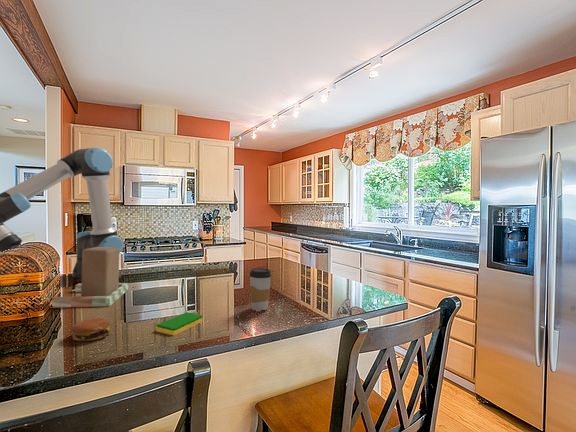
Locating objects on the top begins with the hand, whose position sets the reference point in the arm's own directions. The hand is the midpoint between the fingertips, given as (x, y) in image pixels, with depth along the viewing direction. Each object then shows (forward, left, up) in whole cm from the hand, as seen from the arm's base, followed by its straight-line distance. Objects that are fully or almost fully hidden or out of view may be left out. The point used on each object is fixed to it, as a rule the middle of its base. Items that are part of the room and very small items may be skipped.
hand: (53, 282), depth 127 cm
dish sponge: (+35, +52, -7) cm, 63 cm away
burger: (+40, +28, -7) cm, 50 cm away
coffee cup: (+20, +79, -7) cm, 82 cm away
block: (0, +17, -7) cm, 18 cm away
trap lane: (0, +14, -6) cm, 16 cm away
